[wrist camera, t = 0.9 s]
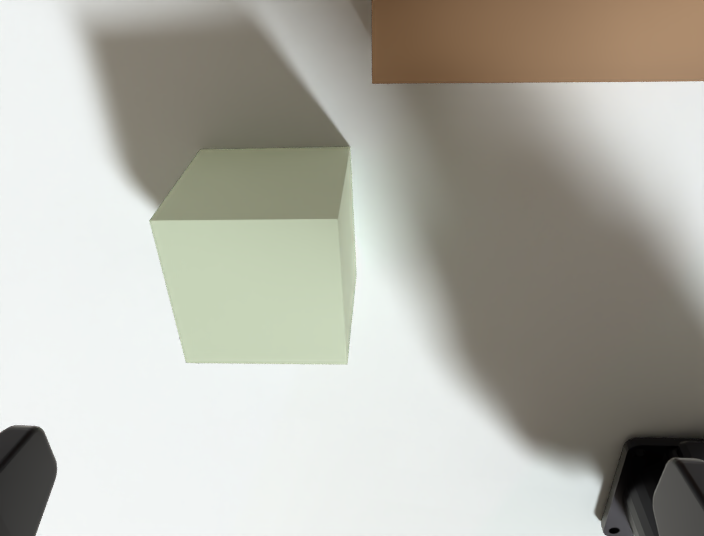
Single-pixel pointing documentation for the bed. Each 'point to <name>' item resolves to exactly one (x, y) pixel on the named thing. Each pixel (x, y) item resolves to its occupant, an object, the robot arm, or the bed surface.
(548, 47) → the walnut block
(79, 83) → the bed surface
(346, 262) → the sage cube
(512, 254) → the bed surface
